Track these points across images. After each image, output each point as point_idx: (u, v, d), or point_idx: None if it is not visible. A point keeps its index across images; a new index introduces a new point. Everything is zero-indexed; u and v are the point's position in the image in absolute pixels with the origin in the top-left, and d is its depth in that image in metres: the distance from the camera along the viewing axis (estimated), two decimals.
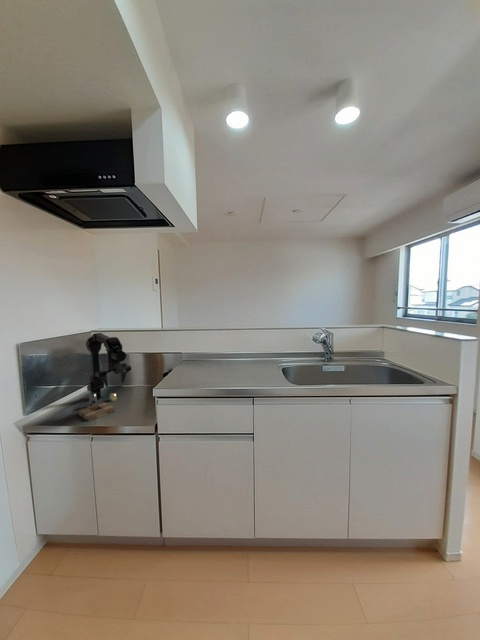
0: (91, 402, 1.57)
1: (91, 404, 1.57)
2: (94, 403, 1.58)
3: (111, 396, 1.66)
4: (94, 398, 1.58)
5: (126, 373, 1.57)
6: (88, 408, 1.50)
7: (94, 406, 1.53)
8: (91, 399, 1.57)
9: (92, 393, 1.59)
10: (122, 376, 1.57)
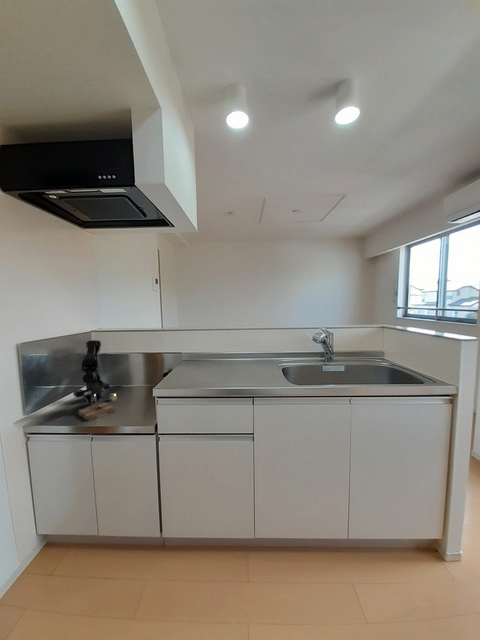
0: (91, 402, 1.57)
1: (91, 404, 1.57)
2: (94, 403, 1.58)
3: (111, 396, 1.66)
4: (94, 398, 1.58)
5: (100, 392, 1.61)
6: (88, 408, 1.50)
7: (94, 406, 1.53)
8: (91, 399, 1.57)
9: (92, 393, 1.59)
10: None
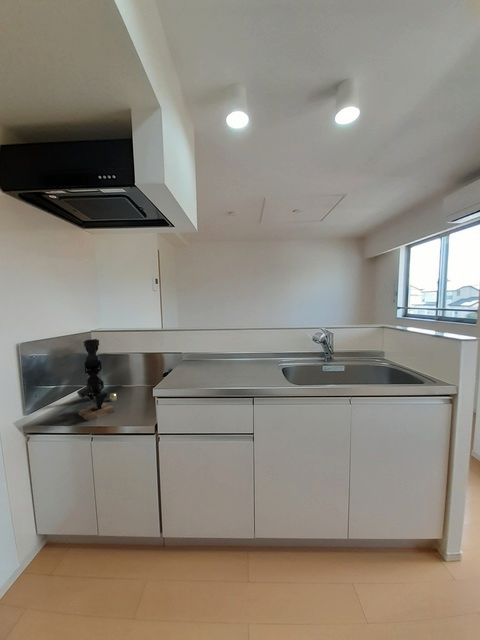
0: None
1: None
2: (92, 410, 1.48)
3: (111, 396, 1.66)
4: (92, 405, 1.48)
5: (96, 401, 1.44)
6: (88, 408, 1.50)
7: None
8: None
9: None
10: None
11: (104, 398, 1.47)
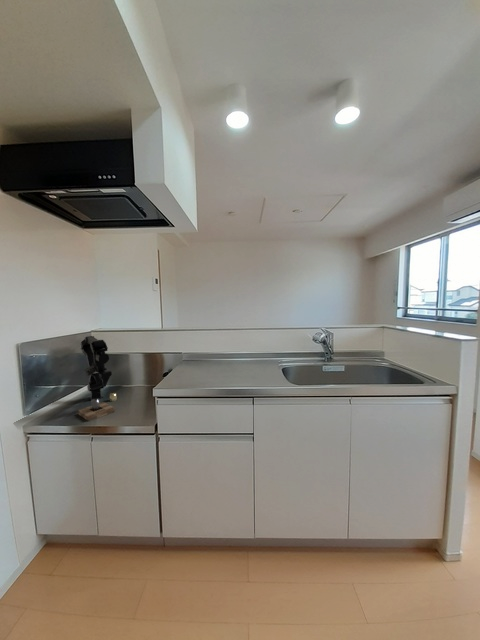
0: None
1: None
2: (92, 410, 1.48)
3: (111, 396, 1.66)
4: (92, 405, 1.48)
5: (102, 379, 1.55)
6: (88, 408, 1.50)
7: None
8: None
9: (96, 399, 1.49)
10: None
11: (109, 377, 1.58)
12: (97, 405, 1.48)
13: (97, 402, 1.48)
